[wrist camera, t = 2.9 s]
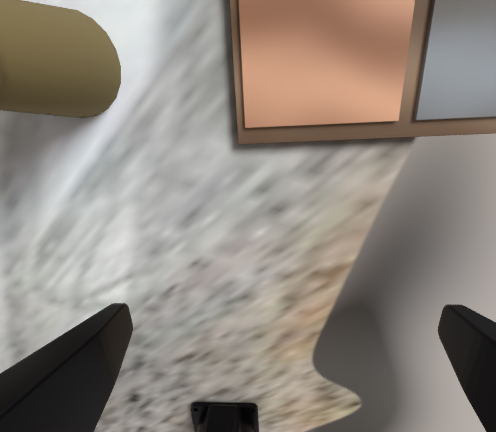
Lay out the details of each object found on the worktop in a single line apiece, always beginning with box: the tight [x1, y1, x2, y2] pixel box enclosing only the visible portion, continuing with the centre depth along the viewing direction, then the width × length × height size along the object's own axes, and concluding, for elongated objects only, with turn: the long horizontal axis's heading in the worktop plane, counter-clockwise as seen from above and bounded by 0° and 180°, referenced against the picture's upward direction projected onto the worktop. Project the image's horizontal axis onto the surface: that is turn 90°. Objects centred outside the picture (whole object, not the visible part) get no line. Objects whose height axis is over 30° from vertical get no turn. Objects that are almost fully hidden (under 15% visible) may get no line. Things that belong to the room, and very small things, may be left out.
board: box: [230, 0, 496, 144], centre depth 16 cm, size 12×20×1 cm, turn 93°
